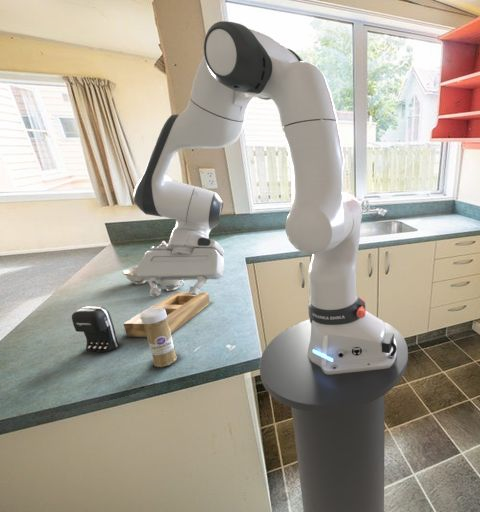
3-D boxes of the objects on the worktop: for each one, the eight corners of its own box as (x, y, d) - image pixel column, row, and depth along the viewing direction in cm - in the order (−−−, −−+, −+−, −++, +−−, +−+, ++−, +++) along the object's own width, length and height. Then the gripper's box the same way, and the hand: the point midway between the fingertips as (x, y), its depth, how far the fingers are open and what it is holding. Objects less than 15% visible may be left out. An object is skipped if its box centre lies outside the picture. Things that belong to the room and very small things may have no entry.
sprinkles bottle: (159, 370, 68) (145, 318, 64) (151, 363, 70) (136, 313, 66) (181, 359, 71) (168, 310, 67) (172, 353, 74) (160, 305, 70)
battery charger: (80, 353, 73) (65, 312, 70) (95, 344, 77) (82, 305, 74) (107, 354, 73) (93, 313, 70) (121, 345, 77) (108, 306, 73)
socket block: (210, 303, 99) (207, 292, 98) (166, 337, 80) (163, 324, 79) (177, 303, 100) (175, 292, 98) (127, 336, 81) (123, 323, 80)
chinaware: (117, 290, 113) (99, 250, 106) (157, 271, 128) (144, 234, 121) (176, 298, 107) (162, 256, 100) (211, 277, 121) (200, 239, 115)
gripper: (139, 241, 77) (120, 291, 71) (221, 240, 78) (209, 289, 72) (155, 252, 82) (138, 300, 76) (230, 251, 84) (220, 297, 78)
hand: (173, 294), depth 74 cm, fingers open, 8 cm apart
